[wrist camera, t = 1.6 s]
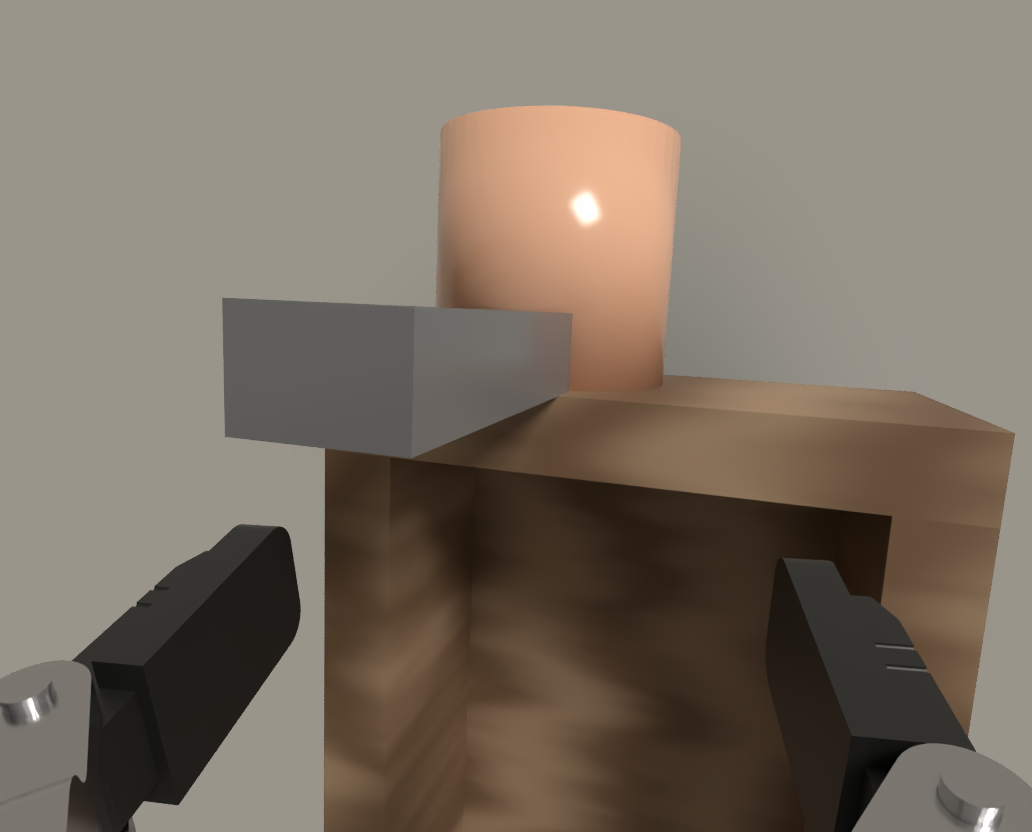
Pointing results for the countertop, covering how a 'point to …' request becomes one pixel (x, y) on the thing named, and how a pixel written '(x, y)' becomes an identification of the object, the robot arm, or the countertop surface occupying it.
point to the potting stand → (631, 599)
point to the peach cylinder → (482, 294)
